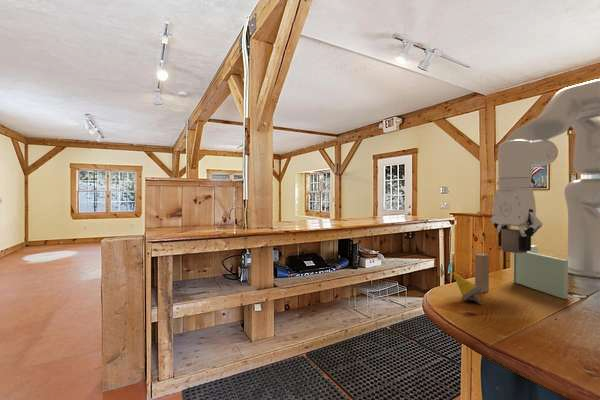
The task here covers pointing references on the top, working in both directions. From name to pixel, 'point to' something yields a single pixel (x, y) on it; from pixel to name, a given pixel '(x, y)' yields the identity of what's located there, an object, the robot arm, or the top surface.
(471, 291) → the drill bit
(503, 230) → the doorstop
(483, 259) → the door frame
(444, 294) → the top surface
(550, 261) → the door
